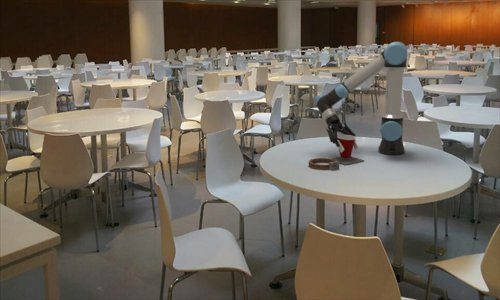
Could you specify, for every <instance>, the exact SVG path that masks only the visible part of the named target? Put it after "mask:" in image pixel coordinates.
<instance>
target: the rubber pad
mask: <svg viewBox="0 0 500 300" xmlns="http://www.w3.org/2000/svg"><path fill="white" fill-rule="evenodd" d="M330 159H334V160H337V161H338V162H339V165H343V166H350V165H354V164H359V163H363V162H365V159H362V158H358V157H354V156H351V157H350V158H341V157H340V156H336V157H331V158H330Z"/></svg>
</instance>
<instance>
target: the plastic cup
mask: <svg viewBox="0 0 500 300" xmlns="http://www.w3.org/2000/svg"><path fill="white" fill-rule="evenodd" d="M356 139H357V137H356V136H355V137H354V136H351V135H344V134H337V141H338V140H339V141H340V143H341V144H342V146H343V148H344V151H343V152H342V153H341V152H340V150H339V149H338V150H339V151H338V152H339V157H341V158H350V157H352V152H353V149H354V147H353V144H354V141H355V140H356Z"/></svg>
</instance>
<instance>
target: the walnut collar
mask: <svg viewBox="0 0 500 300" xmlns="http://www.w3.org/2000/svg"><path fill="white" fill-rule="evenodd" d="M308 168H310V169H313V170H319V171H326V170H327V171H332V172H333V171H337V170H340V164H339V162H338V161H337V160H334V159H331V158H329V157H328V158H327V157H317V158H311V159H309V160H308Z"/></svg>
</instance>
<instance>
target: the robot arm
mask: <svg viewBox="0 0 500 300" xmlns="http://www.w3.org/2000/svg"><path fill="white" fill-rule="evenodd" d="M407 60H408V48H407V46H406V44H405V43H403V42H402V41H393V42H391V43H389V44H388V45H387V46H386V47H385V49H383V51H381V52H380V53H379V55H378V56H377V57H376V58H375V59H373V60H372V61H370V62H369V63H368V64H366V65H365V66H362V68H360V69H359V70H358V71H357V72H355V73H353V74H352V75H350V76H349V77H348V78H346V79H345V80H344V81H342V82H341V83H339V84H338V85H337V86H335V87H334V88H333V89H332V90H330V91H329V92H327V94H324V93H320V94H318V95H316V96H315V98H314V99H313V102H314V104H315V106H316V108H317V109H318V112H319V114H321V116H322V117H323V120H324V121H325V123H326V125H327V126H326V128H325V130H326V132H327V134H328V139H329V141H330V143H332V144H335V146H336V147H337V148H338V150H340V152H341V153H342V152H343V151H344V148H343V146H342V144H341V143H340V141H339V140H337V135H338V133H342V135H351V136H354V137H356V133H355V132H353V131H352V129H350V127H349V126H348V125H347V123H346V122H344V123H342V122H341V119H340V117H339V115H338V114H337V113H336V111H335V110H334V108H333V106H335V105H336V104H337V103H338V102H340V101H341V100H343V99H344V98H346V97H347V96H348V95H349V94H350V93H351V92H353V91H354V90H356V89H357V88H358V87H360V86H361V85H363V84H364V83H366V82H367V81H369V80H370V79H371V78H374V76H376V75H377V74H379V73H380V72H381V71H383V70H386V78H385V79H386V81H385V98H384V99H385V101H384V103H385V104H384V113H383V114H382V115H381V121H380V123H381V124H380V125H381V126H380V130H379V131H380V135H381V140H380V143H379V146H378V153H380V154H382V155H386V156H387V155H388V156H390V155H391V156H397V155H403V154H405V152H406V149H405V145H404V141H403V134H404V133H403V131H404V130H403V129H404V115H403V114H401V113H402V97H403V81H404V79H403V78H404V77H403V76H404V70H405V69H406V68H407V64H408V63H407ZM358 148H359V145H358V143H357V141H356V139H355V141H354V144H353V149H354V150H357V149H358ZM340 152H339V153H340Z"/></svg>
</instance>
